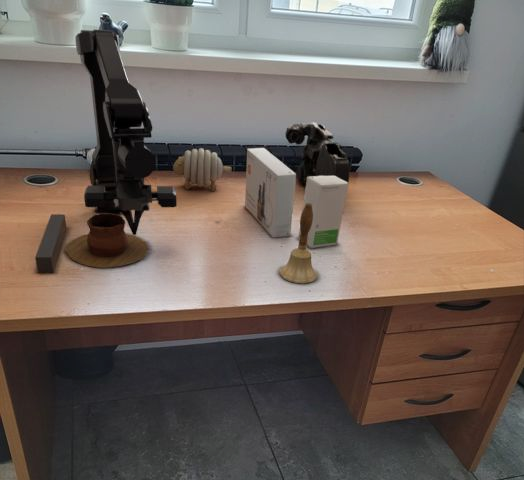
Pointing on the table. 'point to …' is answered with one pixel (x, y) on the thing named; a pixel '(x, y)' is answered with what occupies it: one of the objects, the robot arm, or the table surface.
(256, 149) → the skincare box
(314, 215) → the cosmetic box
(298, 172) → the movie camera
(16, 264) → the table surface
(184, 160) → the toy sheep
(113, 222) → the ceramic pot
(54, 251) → the rail
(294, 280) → the hand bell
